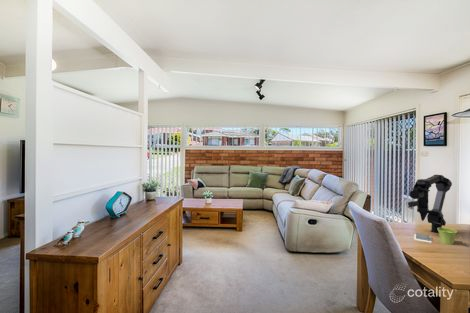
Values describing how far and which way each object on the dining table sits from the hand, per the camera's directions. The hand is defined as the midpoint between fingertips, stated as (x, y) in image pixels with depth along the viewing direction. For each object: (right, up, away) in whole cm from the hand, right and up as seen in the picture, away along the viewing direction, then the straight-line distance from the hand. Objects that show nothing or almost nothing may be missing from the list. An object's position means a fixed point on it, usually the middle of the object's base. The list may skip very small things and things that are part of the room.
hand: (422, 220), depth 166 cm
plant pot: (+4, -11, -14) cm, 18 cm away
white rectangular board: (-5, -11, -6) cm, 13 cm away
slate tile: (-2, -9, -3) cm, 10 cm away
